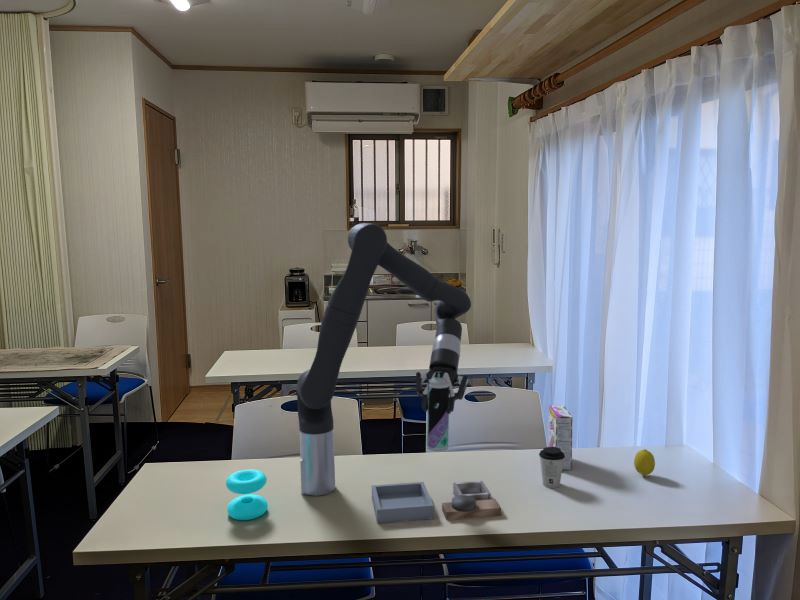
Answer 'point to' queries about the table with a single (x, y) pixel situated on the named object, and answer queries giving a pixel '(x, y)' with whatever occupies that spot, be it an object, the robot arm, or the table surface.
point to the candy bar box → (561, 432)
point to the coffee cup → (551, 466)
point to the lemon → (644, 462)
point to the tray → (402, 502)
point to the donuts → (249, 503)
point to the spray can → (437, 413)
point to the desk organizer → (470, 502)
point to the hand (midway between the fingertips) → (436, 411)
